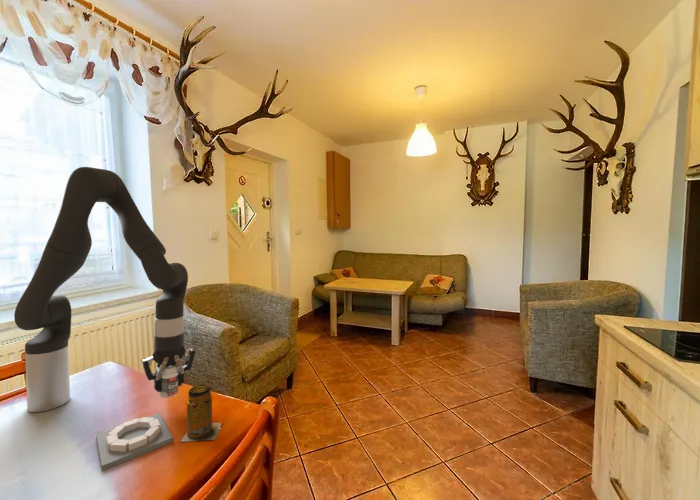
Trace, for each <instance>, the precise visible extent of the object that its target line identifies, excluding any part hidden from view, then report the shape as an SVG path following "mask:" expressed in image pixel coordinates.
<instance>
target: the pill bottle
mask: <svg viewBox="0 0 700 500" xmlns="http://www.w3.org/2000/svg"><path fill="white" fill-rule="evenodd" d="M178 375H179V373H178V369H177V366H176V365H174V366H169V367H166V368H165V369H164V371H163V373H162V375H161V378H160V379H161V392H159V396H160V398H164V399H167V398H173V397H174V396H176V395H177V394H178V393H179V386H178Z"/></svg>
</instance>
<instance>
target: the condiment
mask: <svg viewBox="0 0 700 500" xmlns="http://www.w3.org/2000/svg"><path fill="white" fill-rule="evenodd" d="M211 389H212V388H211V386H210V385H208V384H204V383H203V384H197V385H195V386H192V387H191V388H190V389H188V393H187V394H188V397H187V398H188V399H187V402H186V433H184V435H183V437H182V438H181V440H180V442H197V441H198V442H199V441H200V442H201V441H211V440H212V441H213V440H216V439H217V437H218V435H219V433H220V431H221V429H222V427H220V426H221V425H219V424H220V423H221V422H213V397H212V396H213V395H211V393H212V391H211ZM212 427H213V428H212ZM219 427H220V428H219ZM214 428H215V429H214ZM218 428H219V429H218ZM219 430H220V431H219Z"/></svg>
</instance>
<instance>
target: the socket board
mask: <svg viewBox="0 0 700 500" xmlns="http://www.w3.org/2000/svg"><path fill="white" fill-rule="evenodd" d="M95 438H96V446H97V451H98V456H99V462H100V468H101V471H103V472H104V471H105V470H108V469H110V468H113V467H115V466H117V465H120V464H122V463H125V462H128V461H131V460H132V459H134V458H135V459H136V458H137V457H139V456H142V455H144V454H147V453H149V452H152V451H154V450H157V449H159V448H162V447H165V446H167V445H169V444H172V443H174V442H173V441H174V440H173V439H174V438H173V436H172V434H171V431H170V430H169V429H168V426H167V424H166V423H165V420H164V419H163V417H162V415H161V413H155V414H153V415H149V416H146V417H145V416H144V417H140V418H139V417H137V418H134V419H132V420H129V421H125V422H123V423H121V424H118V425H117V426H115V428H112V429H108V430H105V431H103V432H100V433H97V434H95Z"/></svg>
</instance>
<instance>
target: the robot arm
mask: <svg viewBox="0 0 700 500" xmlns="http://www.w3.org/2000/svg"><path fill="white" fill-rule="evenodd" d="M130 193H131V192H129V189H128V187H127V186H126V184H125V182H124V181H123V179H122V178H121V177H120V175H118V174H117V173H116V172H115V171H113V170H109V169H103V168H97V167H90V166H80V167H77V168H76V169H74V170H73V172H72V173H70V176H69V177H68V179H67V182H66V186H65V190H64V194H63V197H62V202H61V205H60V209H59V212H58V214H57V217H56V221H55V223H54V226H53V229H52V231H51V234H50V235H49V238H48V239H47V242H46V244H45V247H44V250H43V252H42V254H41V258H40V261H39V262H38V264H37V267H36V269H35V271H34V274H33V275H32V277H31V280H30V282H29V283H28V285H27V287H26V289H25V290H24V291H23V294H22V295H21V297H20V299H19V300H18V302H17V304H16V306H15V310H14V314H13V317H14V323H15V325H16V326H17V328H19V329H20V330H22V331H23V330H24V331H34V330H39V329H42V328H43V329H42V330H40V332H39V333H38V334H36V335H35V336H33V337H32V338H30V339H29V340H27V341H26V343H25V345H24V355H25V356H24V357H25V376H26V383H25V384H26V401H27V402H26V405H27V406H26V407H27V411H28V412H30V413H41V412H45V411H47V412H48V411H51V410H53V409H56V408H58V407H61V406H64V404H67V403H68V402H69V401H70V400H71V390H70V389H71V387H70V362H69V361H70V356H69V355H70V354H69V339H70V337H71V334H72V331H71V330H72V306H71V303H70V300H69V298H68V297H67V296H66V295H64V294H61V293H56V291H57V290H58V289H60V287H61V286H62V285H63V284H65V282H67V281H68V280H69V279H70V278H71V277H73V276H74V275H75V274H76V273H77V272H79V270H81V269H82V267H83V266H84V264H85V262H86V260H87V258H88V256H89V253H90V251H91V249H92V244H93V241H92V235H91V232H90V228H89V217H90V215H91V213H92V210H93V208H94V206H95V204H96V203H106V204H107V205H108V206H109V207H110V208H111V209H112V210H113V211H114V212H115V213H116V216H117V217H118V219H119V221H120V222H119V223H120V226H121V232H122V236H123V238H124V241H125V243H126V244H127V246H128V247H129V249H131V251H132V252H133V254H134V255H135V256H136V257H137V258H138V260H139V261H140V263H141V266H142V269H143V270H144V273H145V274H146V277H147V279H148V281H149V282H150V283H151V285H152V286H154V287H155V288H157V289H159V290H162V291H161V292H162V293H161V295H160V296H159V297H158V298H157V299H156V301H155V320H154V328H153V329H154V330H153V331H154V332H153V333H154V337H153V339H154V341H153V343H154V347H153V349H154V351H153V353H152V355H151V356H150V357H145V358H142V359H141V365H142V367H143V371H144V373H145V376H146V378H147V380H148V381H152V380H153V388H154V391H155V392H157V393H160V392H161V379H160V378H161V375H162V373H163V371H164V369H165V368H166V367H169V366H174V365H176V366H177V371H178V373H179V375H178V387H181V386H182V385H183V384H184V382H185V372H187V371H190V370H191V368H192V365H193V361H194V358H195V354H196V350H195V349H193V347H190V348H185V319H184V300H185V295H186V291H187V289H188V287H187V286H188V282H189V274H188V271H187V267H186V266H184V265H183V264H182V263H179V262H171V263H169V262H168V261H167V259H166V256H165V254H166V253H167V250H166V247H165V246H164V244H163V242H161V240H160V239H159V238H158V237H157V235H156V234H155V233H154V231H153V230H152V229H151V227H150V226H149V225H148V224H147V222H146V220H145V219H144V217H143V215H142V214H141V211H140V210H139V208H138V206H137V205H136V203H135V201H134V199H133V197H132V195H131V194H130ZM184 356H186V358H185V362H184V365H183V364H182V361H181V360H182V359H183V357H184ZM153 361H154V362H155V363H156V366H155V371H154V373H152V369H151V367H150V366H152V364H153V363H152V362H153Z"/></svg>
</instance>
